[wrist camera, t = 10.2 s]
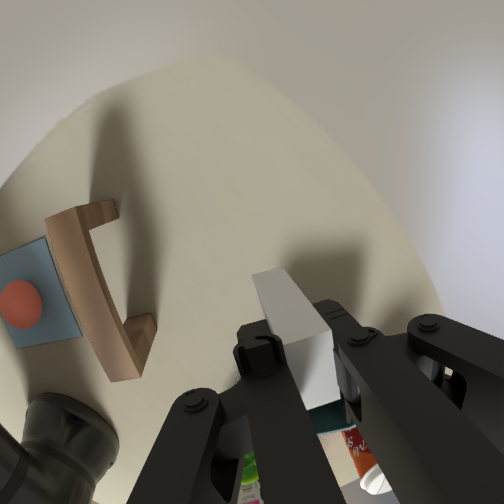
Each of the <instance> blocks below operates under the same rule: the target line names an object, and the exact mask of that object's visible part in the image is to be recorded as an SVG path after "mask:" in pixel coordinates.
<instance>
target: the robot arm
mask: <svg viewBox="0 0 504 504" xmlns="http://www.w3.org/2000/svg"><path fill="white" fill-rule="evenodd" d="M251 276H252V280H253V284H254V288H255V292H256V295H257V299H258V303H259V307H260V311H261V314H262V318H263V320H260V321H257V322H253V323H249V324H246V325H242V326H241V327H240V328H239V330H238V332H237V339H238V344H237V345H236V346H235V347H234V350H233V355H234V358H235V361H236V364H237V366H238V369H239V372H240V375H241V379H240V380H239V381H238V383H237V384H236V385H234V386H233V387H232V388H230V389H228V390H226V391H224V392H222V393H220V394H217V393H216V391H214V390H212V389H209V388H197V389H192V390H190V391H187V392H185V393H183V394H182V395H181V396H179V397H178V398H177V399H176V400H175V402H174V403H173V405H172V407H171V409H170V411H169V413H168V415H167V417H166V419H165V422H164V424H163V426H162V428H161V430H160V432H159V434H158V436H157V439H156V441H155V443H154V445H153V447H152V449H151V451H150V454H149V456H148V458H147V460H146V462H145V464H144V466H143V469H142V471H141V473H140V475H139V477H138V479H137V481H136V484H135V486H134V488H133V490H132V492H131V494H130V496H129V499H128V501H127V503H126V504H237V502H238V497H239V491H240V486H241V480H242V475H243V469H244V464H245V455H247V454H249V453H251V452H253V451H254V456H255V461H256V466H257V472H258V477H259V482H260V488H261V493H262V498H263V503H264V504H346V502H345V499H344V497H343V495H342V492H341V490H340V487H339V485H338V483H337V480H336V478H335V476H334V473H333V471H332V469H331V466H330V464H329V462H328V459H327V457H326V455H325V452H324V450H323V447H322V445H321V443H320V440H319V438H318V436H317V433H316V431H315V429H314V426H313V424H312V421H311V419H310V417H309V414H308V412H307V410H309V409H312V408H315V407H318V406H321V405H324V404H327V403H330V402H333V401H336V400H338V399H340V390H341V391H342V393H343V395H344V398H345V408H346V419H347V424H349V423H351V419H350V417H351V418H352V420H353V421H354V423H355V425H356V427H357V428H358V430H359V432H360V434H361V436H362V437H363V439H364V441H365V443H366V444H367V446H368V448H369V450H370V451H371V453H372V455H373V457H374V458H375V460H376V462H377V464H378V465H379V467H380V469H381V471H382V472H383V474H384V476H385V478H386V480H387V481H388V483H389V485H390V487H391V488H392V490H393V492H394V494H395V495H396V497H397V499H398V501H399V502H400V504H504V340H502V339H500V338H497V337H495V336H492V335H490V334H487V333H485V332H482V331H480V330H477V329H475V328H472V327H469V326H467V325H464V324H462V323H459V322H457V321H454V320H451V319H449V318H446V317H444V316H441V315H437V314H424V315H419V316H417V317H415V318H413V319H412V320H411V321H410V322H409V323H408V327H407V333H403V334H398V335H393V336H385V335H383V334H382V333H381V332H380V331H379V330H377V329H375V328H371V327H362V326H361V325H360V324H359V323H358V322H357V321H356V320H355V319H354V318H353V317H352V316H351V315H350V314H348V312H347V311H346V310H345V309H344V308H343V307H342V306H341V305H340V304H339V303H338V302H335V301H332V300H329V299H327V300H324V301H321V302H318V303H315V304H311V303H310V302H309V300H308V299H307V298H306V297H305V295H304V294H303V293H302V291H301V290H300V289H299V288H298V286H297V285H296V284H295V283H294V281H293V280H292V279H291V277H290V276H289V275H288V274H287V272H286V271H285V270H284V269H283V267H279V268H276V269H272V270H268V271H265V272H261V273H258V274H254V275H251ZM445 366H446V367H448V368H450V369H452V370H453V373H452V376H449V375H447V374H445ZM339 388H340V390H339ZM118 451H119V441H118V438H117V436H116V434H115V432H114V431H113V429H112V428H111V426H110V425H109V424H108V423H107V422H106V421H105V420H104V419H103V418H102V417H101V416H100V415H99V414H97V413H96V412H95V411H93V410H92V409H91V408H89V407H88V406H86V405H84V404H83V403H81V402H79V401H77V400H75V399H72V398H70V397H67V396H64V395H61V394H56V393H44V394H40V395H38V396H36V397H35V398H34V399H33V401H32V402H31V404H30V405H29V407H28V409H27V411H26V420H25V425H24V430H23V437H22V442H21V444H19V443H18V442H17V441H16V440H15V438H14V437H13V436H12V435H11V434H10V433H9V432H8V431H7V430H6V429H5V428H4V427H3V426H2V425H1V423H0V504H91V502H92V498H93V494H94V491H95V487H96V484H97V483H98V482H99V481H100V480H101V478H102V477H103V476H104V475H105V473H106V472H107V470H108V469H109V468H111V467H112V466H113V464H114V463H115V461H116V458H117V455H118Z"/></svg>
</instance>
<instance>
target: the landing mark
mask: <svg viewBox="0 0 504 504" xmlns="http://www.w3.org/2000/svg"><path fill="white" fill-rule="evenodd" d="M16 280H23V281H26V282H29V283H30V284H32V285H33V286H34V287H35V288H36V289H37V291H38V292H39V294H40V297H41V300H42V312H41V316H40V318H39V320H38V321H37V323H36V324H35V325H33V326H32V327H30V328H27V329H17V328H14V327H13V326H11V325H10V324H8V323H7V322H6V320H5V319H4V317H3V315H2V313H1V310H0V314H1V316H2V318H3V321H4V323H5V325H6V327H7V329H8V332H9V334H10V336H11V338H12V340H13V342H14V344H15V346H16V348H17V349H18V348H23V347H29V346H34V345H39V344H45V343H50V342H55V341H60V340H65V339H70V338H74V337H79V336H82V333H81V331H80V329H79V327H78V324H77V322H76V320H75V318H74V315H73V313H72V311H71V308H70V306H69V303H68V301H67V298H66V296H65V293H64V291H63V288H62V286H61V283H60V280H59V278H58V275H57V272H56V269H55V266H54V263H53V260H52V257H51V254H50V251H49V248H48V245H47V242H46V238H42V239H40V240H37V241H35V242H32V243H30V244H27V245H25V246H23V247H20V248H18V249H16V250H13V251H11V252H9V253H6V254H4V255H2V256H0V296H1V293H2V291H3V289H4V288H5V287H6V286H7V285H8V284H9V283H11V282H13V281H16Z"/></svg>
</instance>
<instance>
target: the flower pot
mask: <svg viewBox="0 0 504 504" xmlns="http://www.w3.org/2000/svg"><path fill="white" fill-rule="evenodd" d="M339 390H340V388H339ZM307 412H308V414H309V417H310V419H311V421H312V424H313V426H314V429H315V431H316V433H317V436H320V435H325V434H330V433H335V432H339V431H344V430H349V429H352V428H355V427H356V425H355V423H354V421H353V420H352V418H351V417H350V419H351V423H349V424H347V419H346V408H345V398H344V395H343V393H342V391H341V390H340V399H338V400H336V401H333V402H330V403H327V404H324V405H321V406H318V407H315V408H312V409H309V410H307Z"/></svg>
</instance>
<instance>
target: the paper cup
mask: <svg viewBox="0 0 504 504" xmlns="http://www.w3.org/2000/svg"><path fill="white" fill-rule="evenodd" d="M341 432H342V435H343V437H344V440H345V442H346V445H347V447H348V449H349V452H350V454H351V457H352V459H353V462H354V464H355V466H356V469H357V471H358V474H359V476H360V479H361V482H360V485H361V487H362V488H363V489H365V490H367V491H368V493H370V494H381V493H385V492H388V491H390V490H392V488H391V487H390V485H389V483H388V481H387V480H386V478H385V476H384V474H383V472H382V471H381V469H380V467H379V465H378V464H377V462H376V460H375V458H374V457H373V455H372V453H371V451H370V450H369V448H368V446H367V444H366V443H365V441H364V439H363V437H362V436H361V434H360V432H359V430H358V428H357V427H355V428H352V429H349V430H344V431H341Z"/></svg>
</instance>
